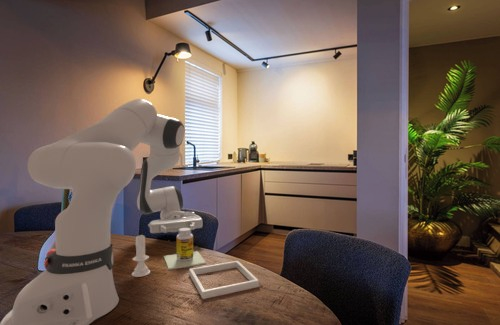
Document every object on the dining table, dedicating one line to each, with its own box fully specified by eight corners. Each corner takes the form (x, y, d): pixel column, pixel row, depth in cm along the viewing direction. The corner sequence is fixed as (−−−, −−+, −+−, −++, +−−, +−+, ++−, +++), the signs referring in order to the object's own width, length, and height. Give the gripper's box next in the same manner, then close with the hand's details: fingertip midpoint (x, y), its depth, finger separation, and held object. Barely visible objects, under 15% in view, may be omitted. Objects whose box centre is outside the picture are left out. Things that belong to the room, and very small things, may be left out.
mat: (168, 270, 87) (168, 268, 87) (163, 257, 98) (163, 255, 98) (206, 263, 92) (206, 262, 92) (197, 252, 103) (197, 250, 103)
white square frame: (202, 299, 69) (202, 292, 69) (189, 274, 84) (189, 268, 84) (258, 286, 76) (258, 280, 76) (237, 266, 90) (237, 260, 90)
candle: (154, 271, 86) (153, 233, 86) (140, 278, 81) (140, 237, 81) (141, 268, 88) (140, 231, 88) (127, 275, 83) (126, 235, 83)
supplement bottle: (179, 263, 91) (179, 232, 91) (174, 258, 96) (174, 228, 96) (195, 259, 94) (195, 229, 94) (189, 254, 99) (189, 226, 99)
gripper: (147, 216, 112) (150, 224, 100) (197, 211, 120) (206, 218, 108) (147, 231, 112) (150, 241, 100) (197, 225, 121) (206, 234, 108)
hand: (179, 229), depth 104 cm, fingers open, 8 cm apart
